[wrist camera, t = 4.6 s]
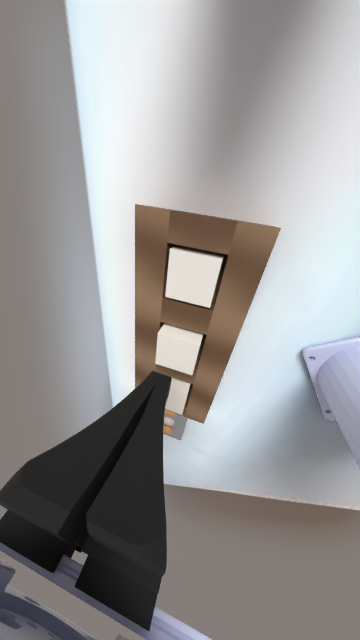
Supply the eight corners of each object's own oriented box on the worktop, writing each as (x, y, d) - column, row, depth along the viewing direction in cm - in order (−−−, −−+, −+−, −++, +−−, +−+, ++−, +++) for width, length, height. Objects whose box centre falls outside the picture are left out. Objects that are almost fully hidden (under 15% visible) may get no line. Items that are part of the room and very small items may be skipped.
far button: (185, 401, 21) (182, 415, 19) (157, 391, 21) (151, 403, 20) (191, 381, 19) (187, 395, 17) (159, 371, 19) (153, 383, 18)
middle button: (196, 362, 17) (192, 375, 16) (161, 352, 18) (155, 363, 16) (203, 333, 15) (200, 345, 14) (164, 322, 16) (157, 332, 14)
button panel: (206, 405, 23) (203, 423, 21) (144, 383, 25) (135, 398, 22) (273, 226, 12) (280, 228, 10) (151, 206, 13) (135, 204, 11)
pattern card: (181, 437, 29) (180, 442, 28) (153, 426, 30) (151, 431, 29) (190, 406, 24) (189, 411, 24) (156, 394, 25) (154, 398, 24)
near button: (212, 299, 15) (209, 307, 13) (171, 289, 15) (165, 296, 14) (224, 254, 13) (222, 259, 11) (177, 245, 13) (169, 248, 12)
